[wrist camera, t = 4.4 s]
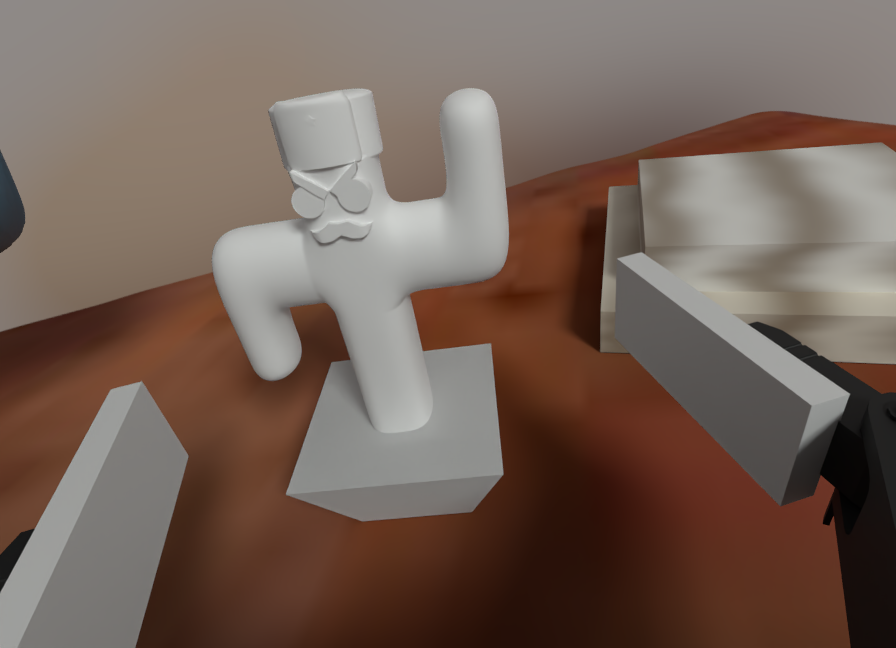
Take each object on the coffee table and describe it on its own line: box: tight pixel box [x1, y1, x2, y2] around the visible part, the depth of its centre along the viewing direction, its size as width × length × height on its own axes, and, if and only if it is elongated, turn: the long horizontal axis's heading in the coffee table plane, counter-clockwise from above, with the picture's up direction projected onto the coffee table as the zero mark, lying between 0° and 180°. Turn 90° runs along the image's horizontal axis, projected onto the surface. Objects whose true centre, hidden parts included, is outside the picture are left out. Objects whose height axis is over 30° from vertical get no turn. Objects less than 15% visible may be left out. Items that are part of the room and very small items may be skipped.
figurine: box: [212, 88, 509, 521], centre depth 17 cm, size 7×9×15 cm
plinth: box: [600, 143, 896, 364], centre depth 29 cm, size 18×18×5 cm
